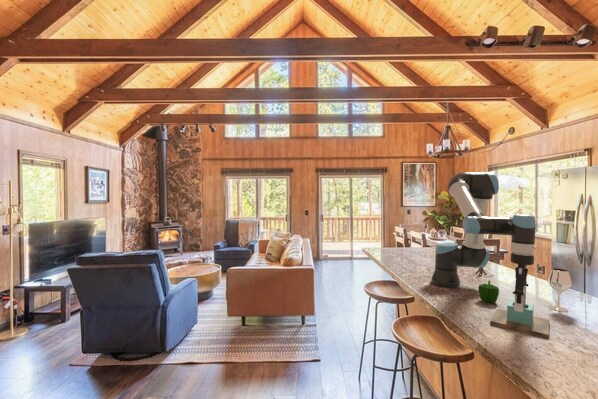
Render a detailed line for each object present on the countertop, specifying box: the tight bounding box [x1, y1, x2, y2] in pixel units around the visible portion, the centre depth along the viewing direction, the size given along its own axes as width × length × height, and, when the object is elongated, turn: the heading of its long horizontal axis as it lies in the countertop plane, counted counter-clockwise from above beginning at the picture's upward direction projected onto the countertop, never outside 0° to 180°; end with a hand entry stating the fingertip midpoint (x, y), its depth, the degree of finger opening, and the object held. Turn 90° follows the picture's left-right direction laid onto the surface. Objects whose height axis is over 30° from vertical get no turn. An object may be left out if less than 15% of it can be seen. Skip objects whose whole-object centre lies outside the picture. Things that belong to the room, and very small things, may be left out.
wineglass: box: [547, 267, 573, 313], centre depth 142 cm, size 8×8×18 cm
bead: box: [506, 300, 535, 326], centre depth 124 cm, size 8×8×6 cm
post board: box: [489, 292, 550, 340], centre depth 124 cm, size 18×18×13 cm
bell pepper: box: [478, 279, 500, 304], centre depth 150 cm, size 8×8×10 cm
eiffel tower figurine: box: [472, 267, 495, 278], centre depth 202 cm, size 15×10×13 cm
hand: (520, 306), depth 124 cm, fingers open, 13 cm apart
